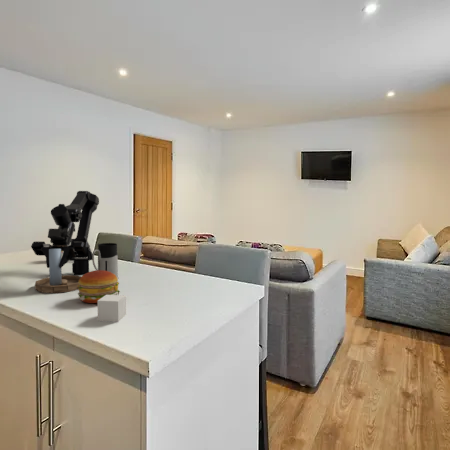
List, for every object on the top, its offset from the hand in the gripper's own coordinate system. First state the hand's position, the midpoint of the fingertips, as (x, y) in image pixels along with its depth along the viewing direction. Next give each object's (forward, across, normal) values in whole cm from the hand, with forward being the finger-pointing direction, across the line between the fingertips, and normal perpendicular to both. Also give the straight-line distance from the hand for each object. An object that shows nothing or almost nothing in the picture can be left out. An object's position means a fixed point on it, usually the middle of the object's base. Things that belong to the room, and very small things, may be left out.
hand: (53, 267), depth 126 cm
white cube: (+27, +28, -14) cm, 41 cm away
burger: (+14, +19, -1) cm, 23 cm away
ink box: (-35, -17, +48) cm, 62 cm away
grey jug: (-4, +14, +17) cm, 23 cm away
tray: (+2, 0, +11) cm, 11 cm away
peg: (+4, 0, +6) cm, 7 cm away
